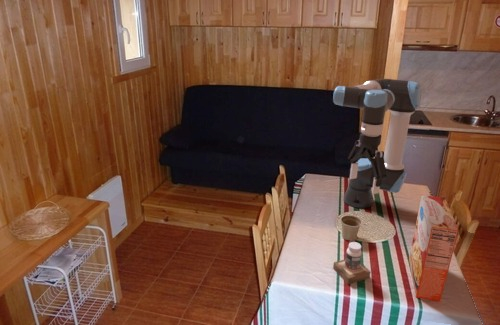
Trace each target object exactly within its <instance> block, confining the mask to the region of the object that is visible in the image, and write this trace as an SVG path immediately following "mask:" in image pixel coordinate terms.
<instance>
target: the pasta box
mask: <svg viewBox="0 0 500 325" xmlns="http://www.w3.org/2000/svg"><path fill="white" fill-rule="evenodd" d="M458 234H459V228H458V225H457V223H456V220H455V219H454V215H453V214H452V211H451V209H450V207H449V205H448V202H447V200H446V198H445V197H442V196H433V195H427V194H426V195H424V194H422V195H421V198H420V203H419V208H418V212H417V218H416V222H415V227H414V232H413V238H412V240H411V241H412V242H411V247H410V252H409V257H408V262H409V266H410V268H409V269H410V272H411V273H410V274H411V278H412V282H413V289H414V293H415V298H417V299H423V300H429V301H433V302H435V301H436V302H441V300H442V297H443V292H444V289H445V284H446V281H447V277H448V274H449V269H450V265H451V261H452V259H453V258H452V257H453V254H454V250H455V246H456V242H457V239H458Z"/></svg>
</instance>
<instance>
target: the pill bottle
mask: <svg viewBox="0 0 500 325" xmlns="http://www.w3.org/2000/svg"><path fill="white" fill-rule="evenodd" d="M362 253H363V252H362V245H361V244H360V243H359V242H356V241H351V242H349V243H348V247H347V249H346V250H345V267H346V268H347V269H349V270H351V271H356V270H358V269H359V268H360V263H362V262H361V261H362V255H363V254H362Z"/></svg>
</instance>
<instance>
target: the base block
mask: <svg viewBox="0 0 500 325" xmlns="http://www.w3.org/2000/svg"><path fill="white" fill-rule="evenodd" d="M345 259H346V258H345ZM345 259H341V260H338V261H334V262H333V265H332V266H333V267H332V269H333V270H334V271H335V272H336V274H338V275H339V277H340V278H341V279H342V280H343V281H344V282H345V283H346V284H347V285H350V284H351V285H352V284H354V283H358V282H361V281H364V280H367V279H370V278H371V270H370V269H369V268H368V267H367V266H365V265H364V264H363V262H361V263H360V268H359V269H358V270H356V271H351V270H349V269H347V268H346V267H345Z"/></svg>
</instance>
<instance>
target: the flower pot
mask: <svg viewBox="0 0 500 325" xmlns="http://www.w3.org/2000/svg"><path fill="white" fill-rule="evenodd" d="M339 219H340V224H341V236H342V239H343V240H345V241H351V242H354V241H355V240H356V239H357V237H358V233H359V230H360V228H361V226H363V221H362V219H361V218H360V217H358V216H356V215H353V214H352V215H351V214H349V215H348V214H347V215H343V216H341V218H339Z"/></svg>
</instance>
